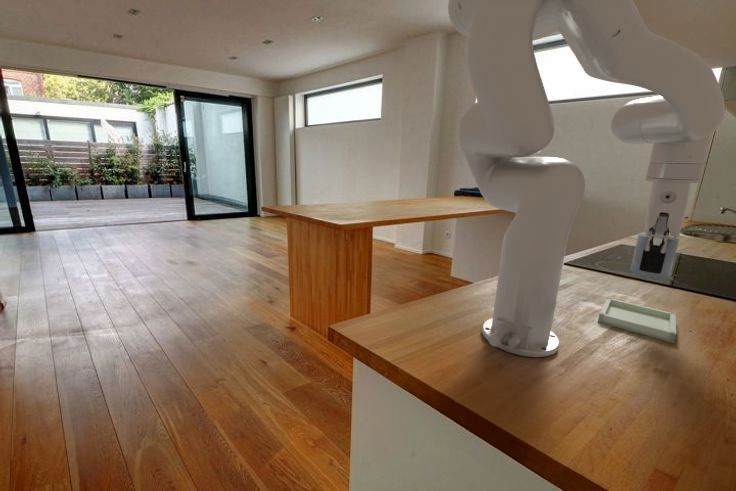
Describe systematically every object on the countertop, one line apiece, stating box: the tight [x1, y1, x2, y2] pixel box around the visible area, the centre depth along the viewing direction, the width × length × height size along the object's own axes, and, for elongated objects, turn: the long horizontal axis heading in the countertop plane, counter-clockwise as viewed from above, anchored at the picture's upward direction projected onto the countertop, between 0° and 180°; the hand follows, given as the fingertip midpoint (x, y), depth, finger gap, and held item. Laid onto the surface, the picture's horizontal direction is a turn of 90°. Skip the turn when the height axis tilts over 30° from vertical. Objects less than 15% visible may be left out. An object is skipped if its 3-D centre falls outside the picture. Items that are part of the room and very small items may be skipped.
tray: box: [597, 297, 677, 344], centre depth 68 cm, size 12×12×2 cm
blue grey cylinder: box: [630, 233, 680, 279], centre depth 65 cm, size 6×6×7 cm
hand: (650, 266), depth 66 cm, fingers closed on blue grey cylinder, 6 cm apart
